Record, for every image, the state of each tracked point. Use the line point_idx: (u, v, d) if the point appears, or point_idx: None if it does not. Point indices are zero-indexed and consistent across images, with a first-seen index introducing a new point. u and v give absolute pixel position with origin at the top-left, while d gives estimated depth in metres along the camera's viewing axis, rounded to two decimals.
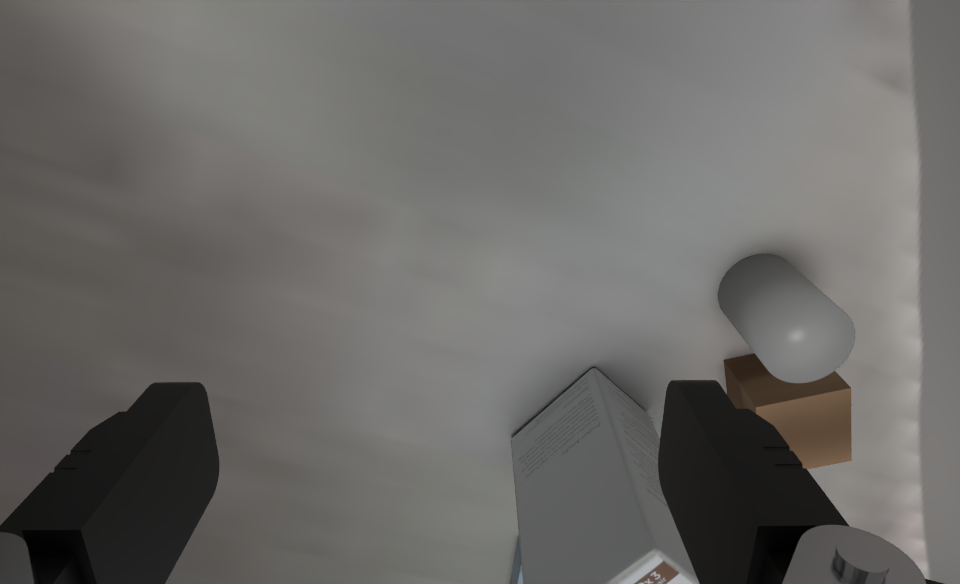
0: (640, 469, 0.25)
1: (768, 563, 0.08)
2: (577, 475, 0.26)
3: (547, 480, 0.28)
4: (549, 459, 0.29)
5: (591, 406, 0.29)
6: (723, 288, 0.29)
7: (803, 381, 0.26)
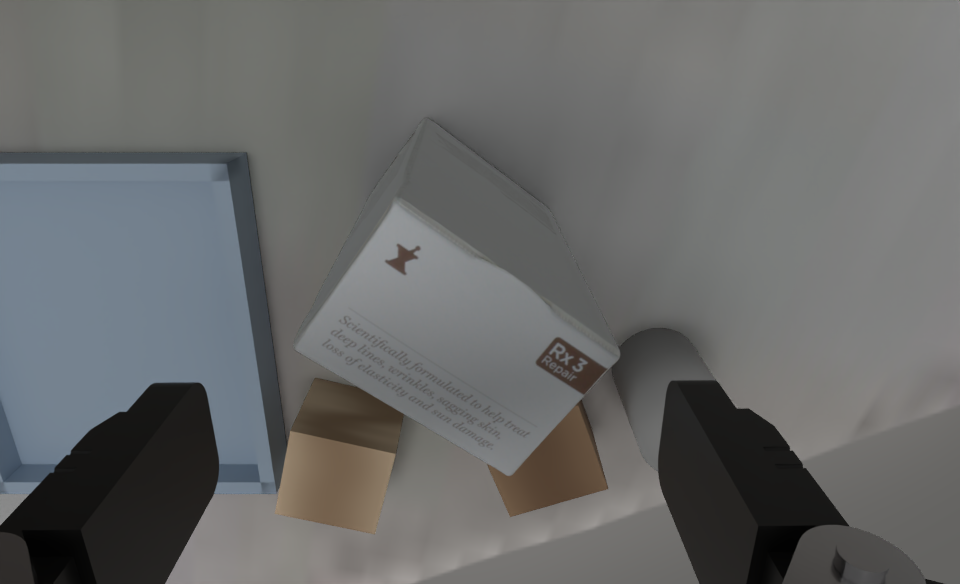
0: None
1: (768, 563, 0.08)
2: (521, 219, 0.19)
3: (475, 178, 0.19)
4: (483, 176, 0.20)
5: (546, 218, 0.22)
6: (665, 333, 0.26)
7: (641, 444, 0.23)
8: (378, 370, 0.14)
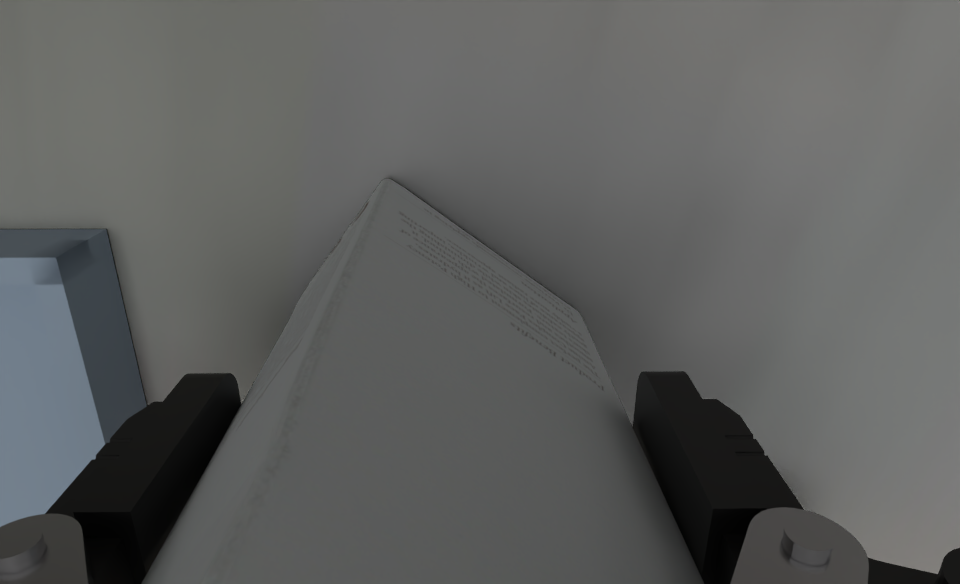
0: None
1: (724, 545, 0.08)
2: (550, 395, 0.10)
3: (465, 310, 0.10)
4: (478, 295, 0.12)
5: (582, 348, 0.13)
6: None
7: None
8: None
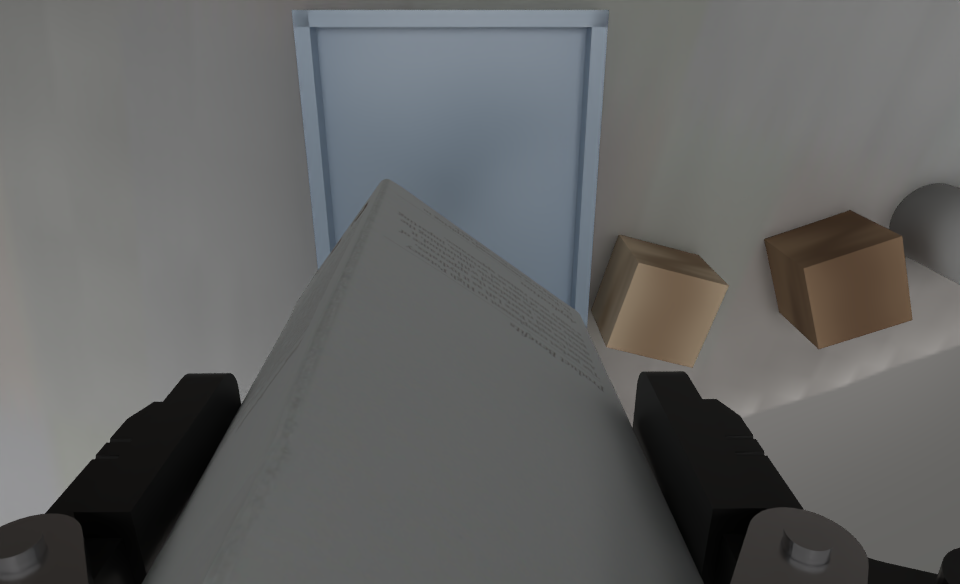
0: None
1: (724, 545, 0.08)
2: (550, 396, 0.10)
3: (465, 311, 0.10)
4: (478, 295, 0.12)
5: (582, 348, 0.13)
6: (949, 185, 0.29)
7: None
8: None
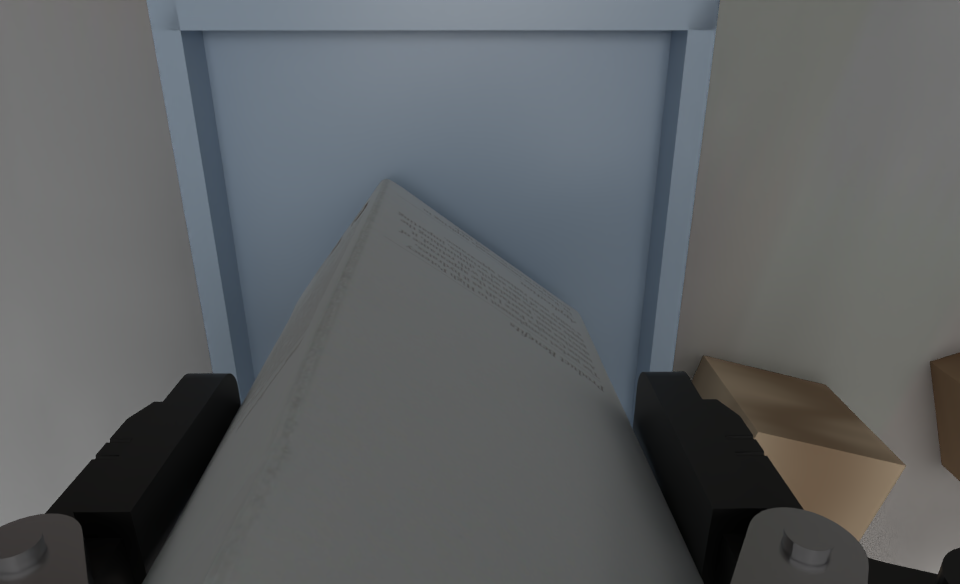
0: None
1: (724, 545, 0.08)
2: (550, 396, 0.10)
3: (465, 311, 0.10)
4: (478, 295, 0.12)
5: (582, 348, 0.13)
6: None
7: None
8: None
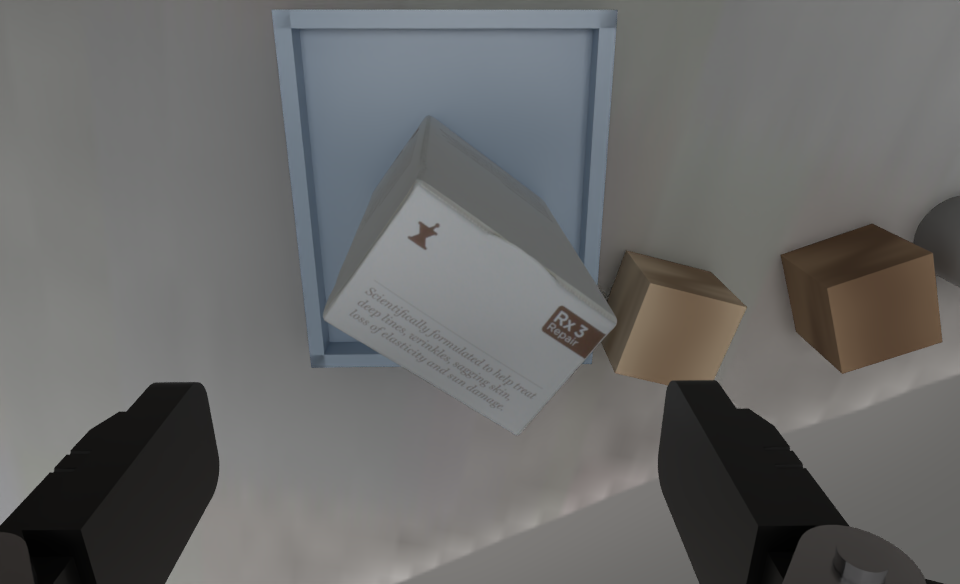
0: None
1: (770, 563, 0.08)
2: (521, 206, 0.20)
3: (479, 169, 0.21)
4: (485, 168, 0.22)
5: (542, 207, 0.24)
6: None
7: None
8: (400, 337, 0.15)
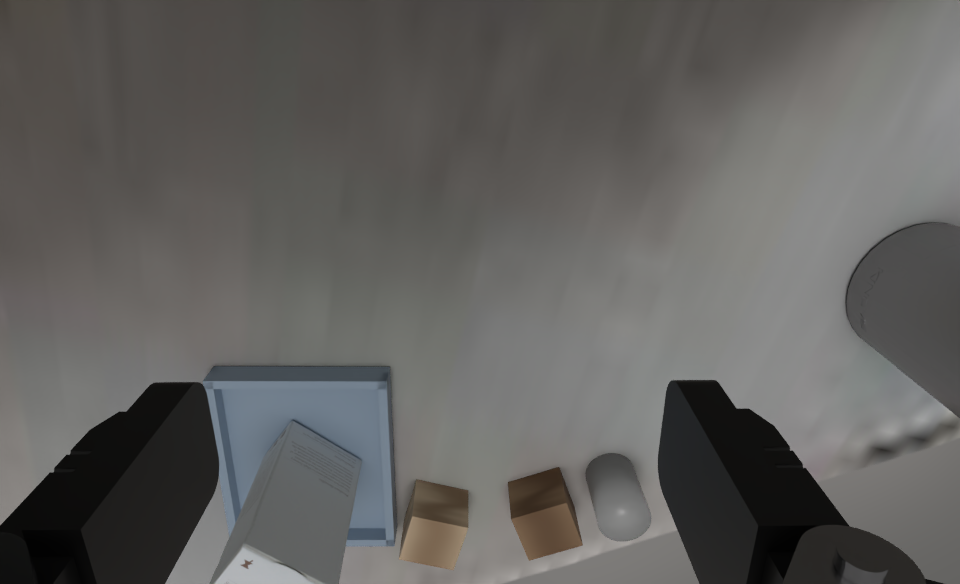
0: None
1: (769, 563, 0.08)
2: (321, 503, 0.40)
3: (303, 479, 0.41)
4: (311, 470, 0.42)
5: (349, 480, 0.44)
6: (615, 457, 0.47)
7: (599, 525, 0.44)
8: None
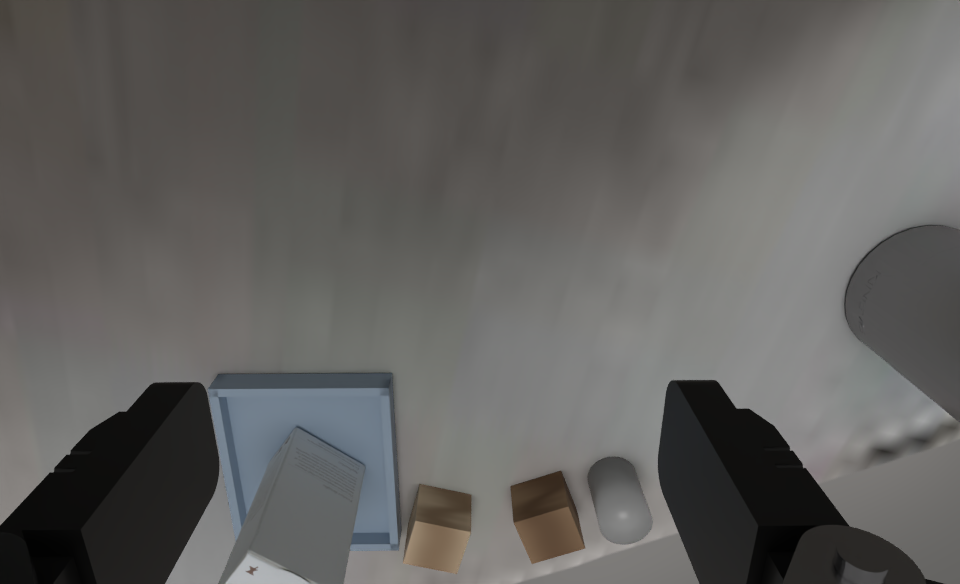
0: None
1: (769, 563, 0.08)
2: (325, 509, 0.41)
3: (307, 486, 0.41)
4: (315, 477, 0.43)
5: (353, 485, 0.44)
6: (616, 460, 0.48)
7: (601, 528, 0.44)
8: None
